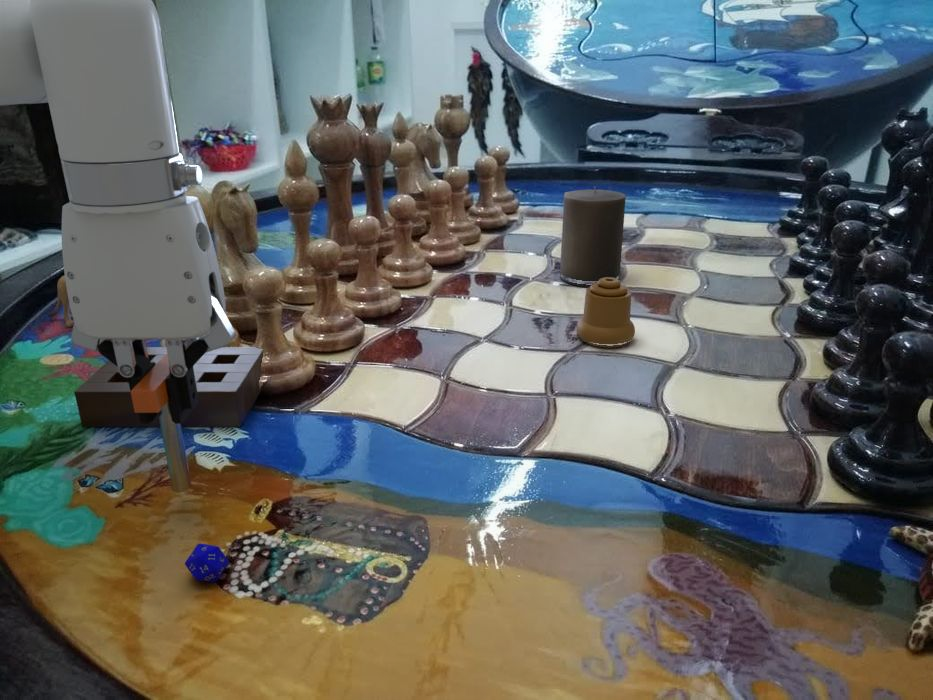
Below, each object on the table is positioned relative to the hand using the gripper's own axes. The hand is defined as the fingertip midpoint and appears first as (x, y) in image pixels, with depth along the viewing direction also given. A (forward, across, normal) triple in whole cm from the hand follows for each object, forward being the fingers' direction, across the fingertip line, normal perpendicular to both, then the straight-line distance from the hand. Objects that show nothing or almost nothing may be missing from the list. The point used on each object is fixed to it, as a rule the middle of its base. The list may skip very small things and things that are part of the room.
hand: (168, 414), depth 58 cm
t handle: (+7, 0, 0) cm, 7 cm away
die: (+9, -5, +9) cm, 14 cm away
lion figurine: (+9, +27, -42) cm, 51 cm away
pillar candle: (+9, -44, -63) cm, 77 cm away
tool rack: (+9, +7, -19) cm, 22 cm away
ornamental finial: (+9, -42, -37) cm, 57 cm away
